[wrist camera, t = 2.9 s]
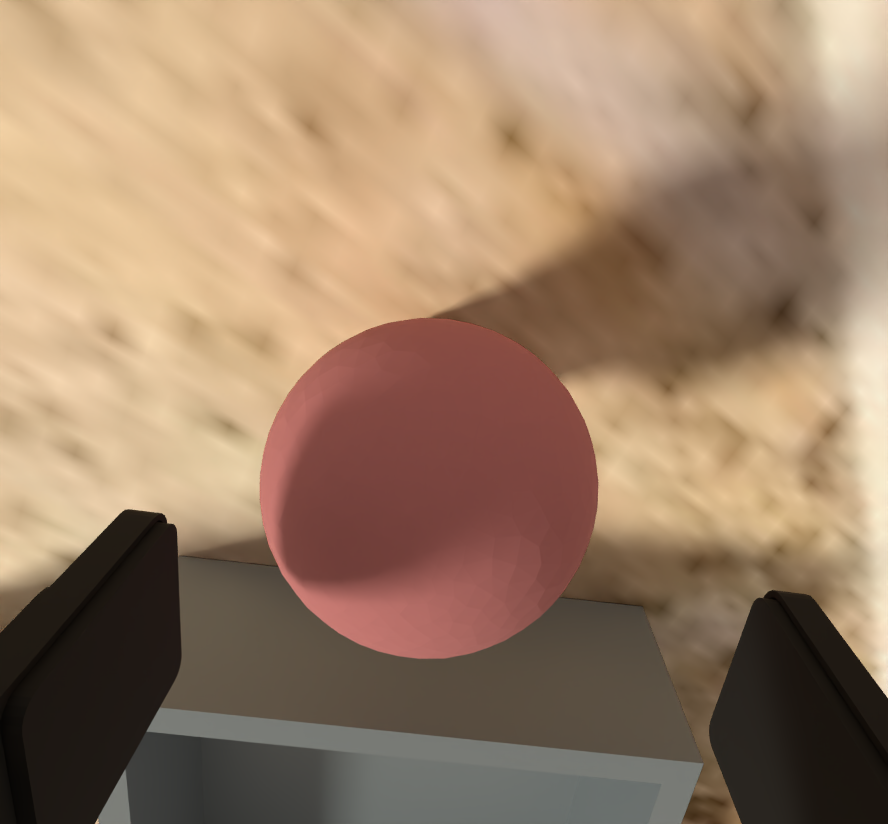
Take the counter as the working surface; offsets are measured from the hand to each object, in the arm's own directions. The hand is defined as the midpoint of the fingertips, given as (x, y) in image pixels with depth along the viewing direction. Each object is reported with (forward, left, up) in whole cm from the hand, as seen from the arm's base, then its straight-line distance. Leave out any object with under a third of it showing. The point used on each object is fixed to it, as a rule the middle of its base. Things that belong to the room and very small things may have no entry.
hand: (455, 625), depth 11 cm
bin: (+18, -1, -13) cm, 22 cm away
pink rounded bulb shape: (0, -1, -13) cm, 13 cm away
